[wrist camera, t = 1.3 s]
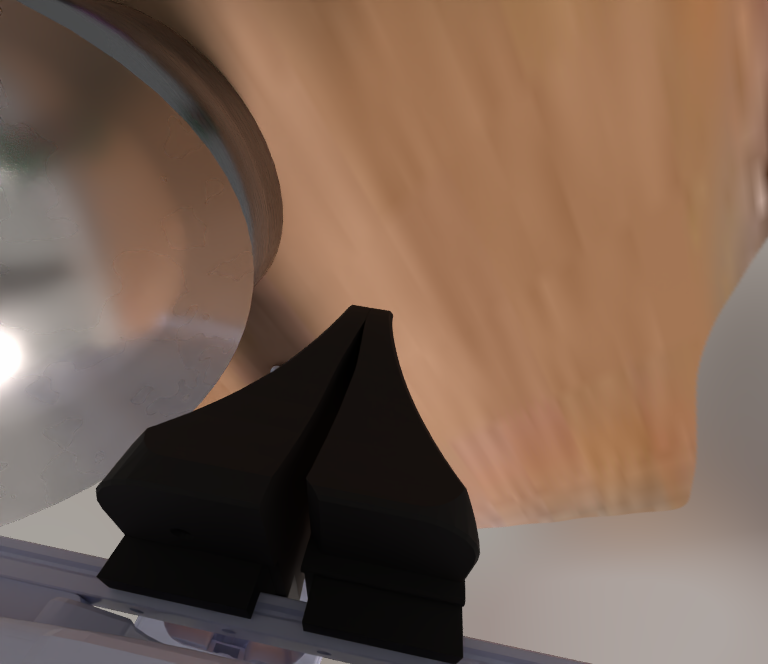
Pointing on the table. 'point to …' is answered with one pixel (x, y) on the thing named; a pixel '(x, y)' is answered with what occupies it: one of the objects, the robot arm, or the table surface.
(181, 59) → the cooker body
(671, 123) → the table surface
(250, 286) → the lid
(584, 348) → the table surface
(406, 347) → the table surface
